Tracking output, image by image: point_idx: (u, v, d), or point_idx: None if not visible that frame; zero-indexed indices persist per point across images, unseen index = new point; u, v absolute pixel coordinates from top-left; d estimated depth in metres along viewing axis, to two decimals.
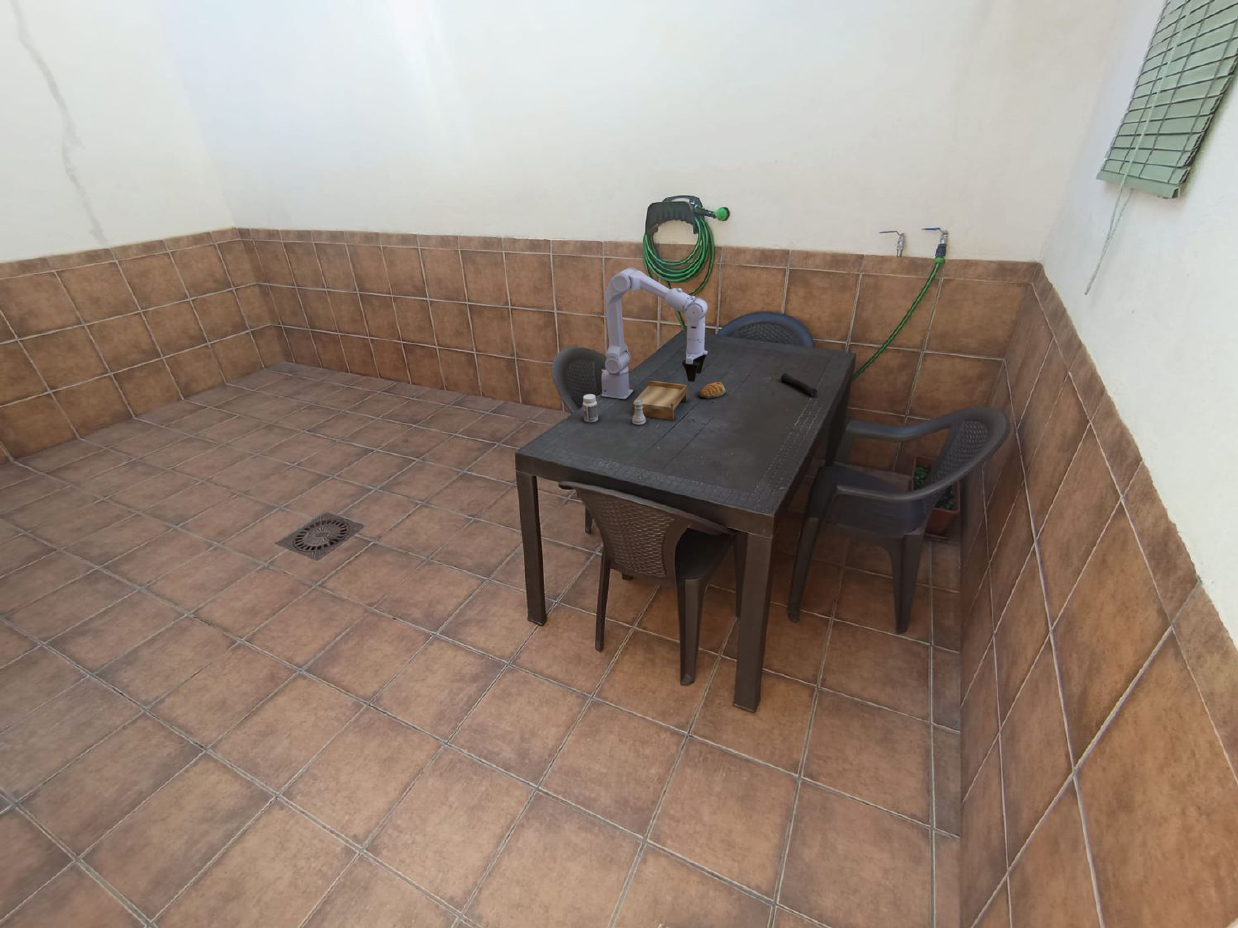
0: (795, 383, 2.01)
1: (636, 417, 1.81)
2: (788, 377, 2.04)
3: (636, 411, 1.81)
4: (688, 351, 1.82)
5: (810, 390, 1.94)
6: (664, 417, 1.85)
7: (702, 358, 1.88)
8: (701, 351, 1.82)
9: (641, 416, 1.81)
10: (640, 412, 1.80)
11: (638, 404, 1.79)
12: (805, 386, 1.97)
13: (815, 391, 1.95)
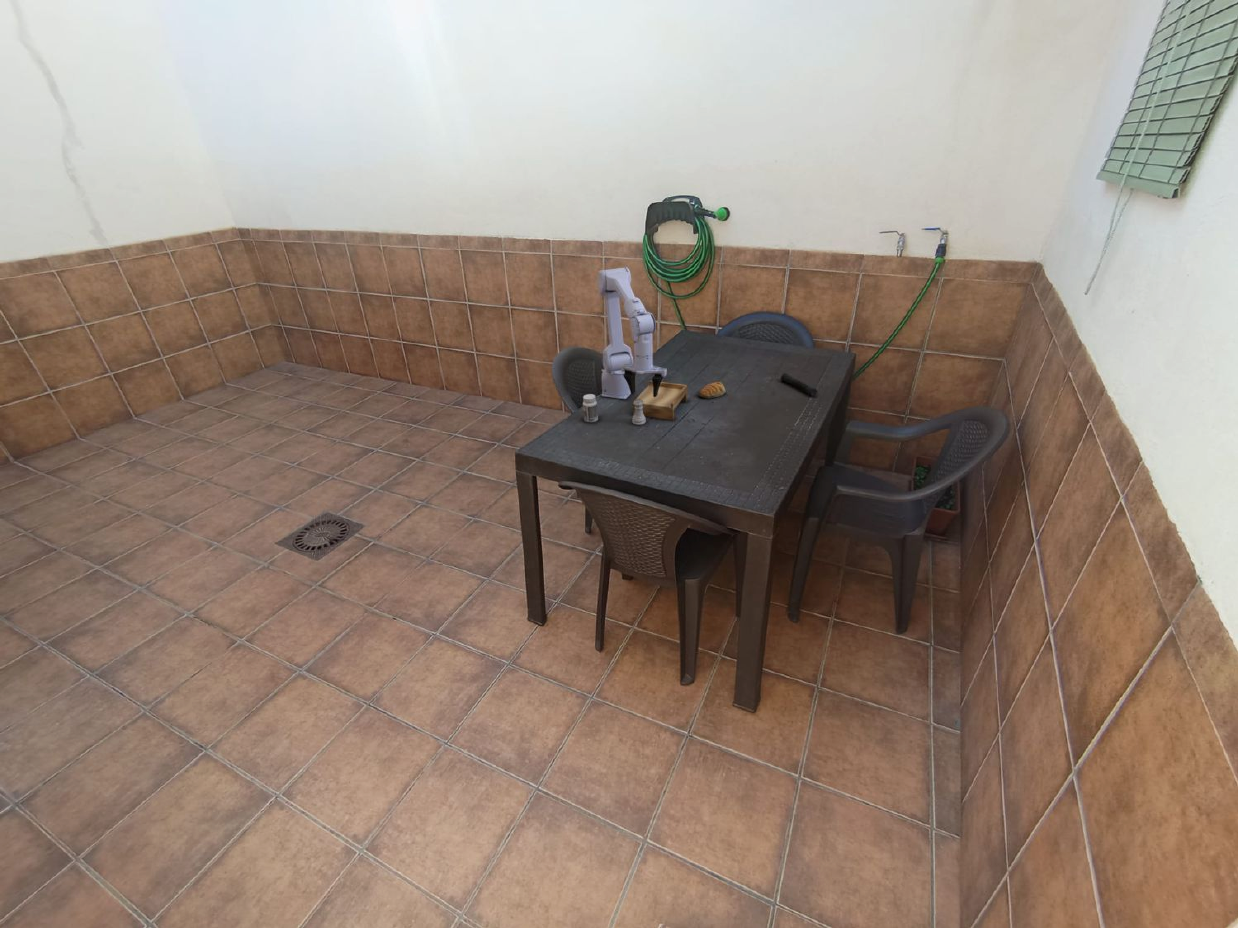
0: (795, 383, 2.01)
1: (636, 417, 1.81)
2: (788, 377, 2.04)
3: (636, 411, 1.81)
4: None
5: (810, 390, 1.94)
6: (664, 417, 1.85)
7: None
8: (636, 368, 1.73)
9: (641, 416, 1.81)
10: (640, 412, 1.80)
11: (638, 404, 1.79)
12: (805, 386, 1.97)
13: (815, 391, 1.95)
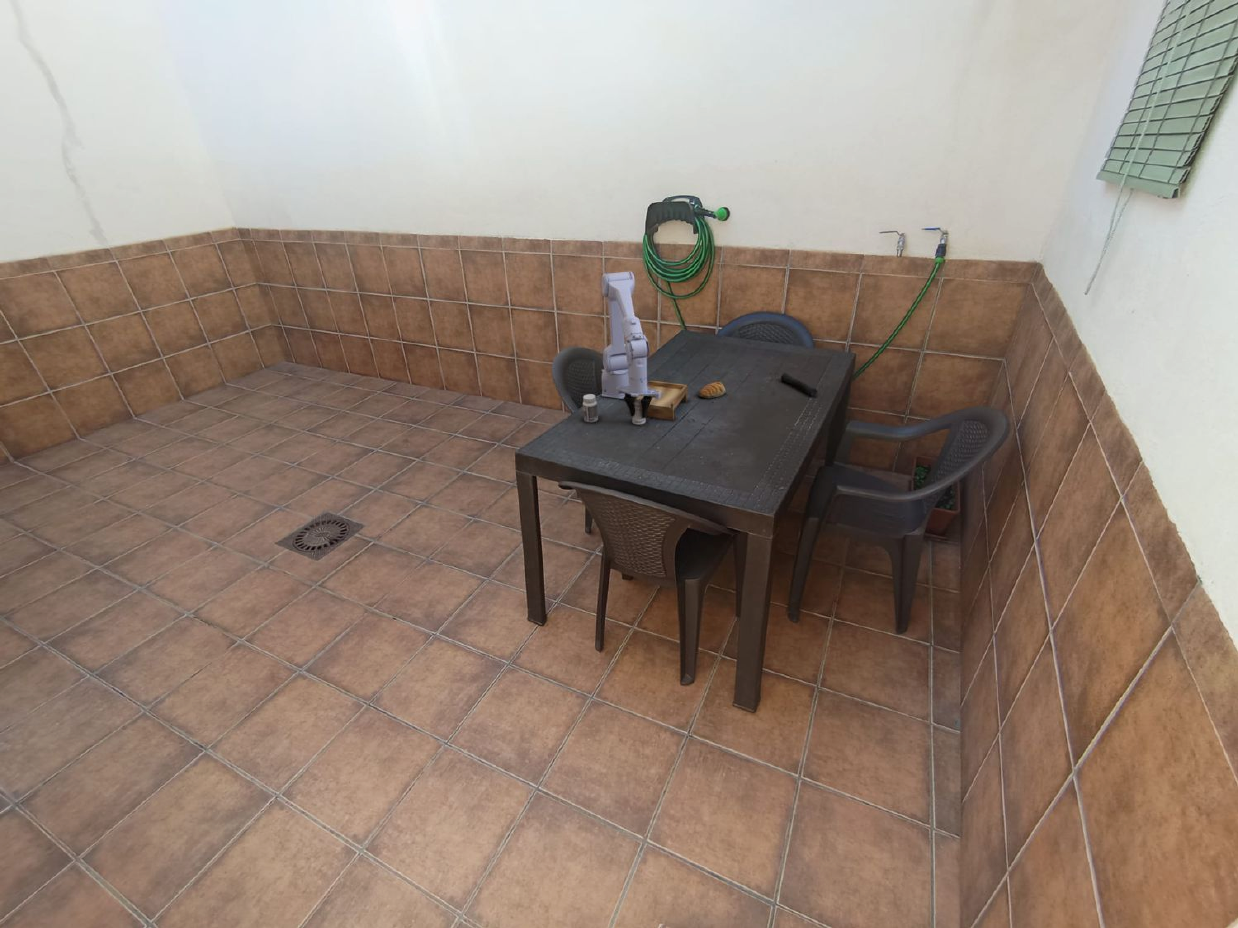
0: (795, 383, 2.01)
1: (636, 417, 1.81)
2: (788, 377, 2.04)
3: (636, 411, 1.81)
4: None
5: (810, 390, 1.94)
6: (664, 417, 1.85)
7: None
8: (631, 390, 1.76)
9: (641, 416, 1.81)
10: (640, 412, 1.80)
11: (638, 404, 1.79)
12: (805, 386, 1.97)
13: (815, 391, 1.95)
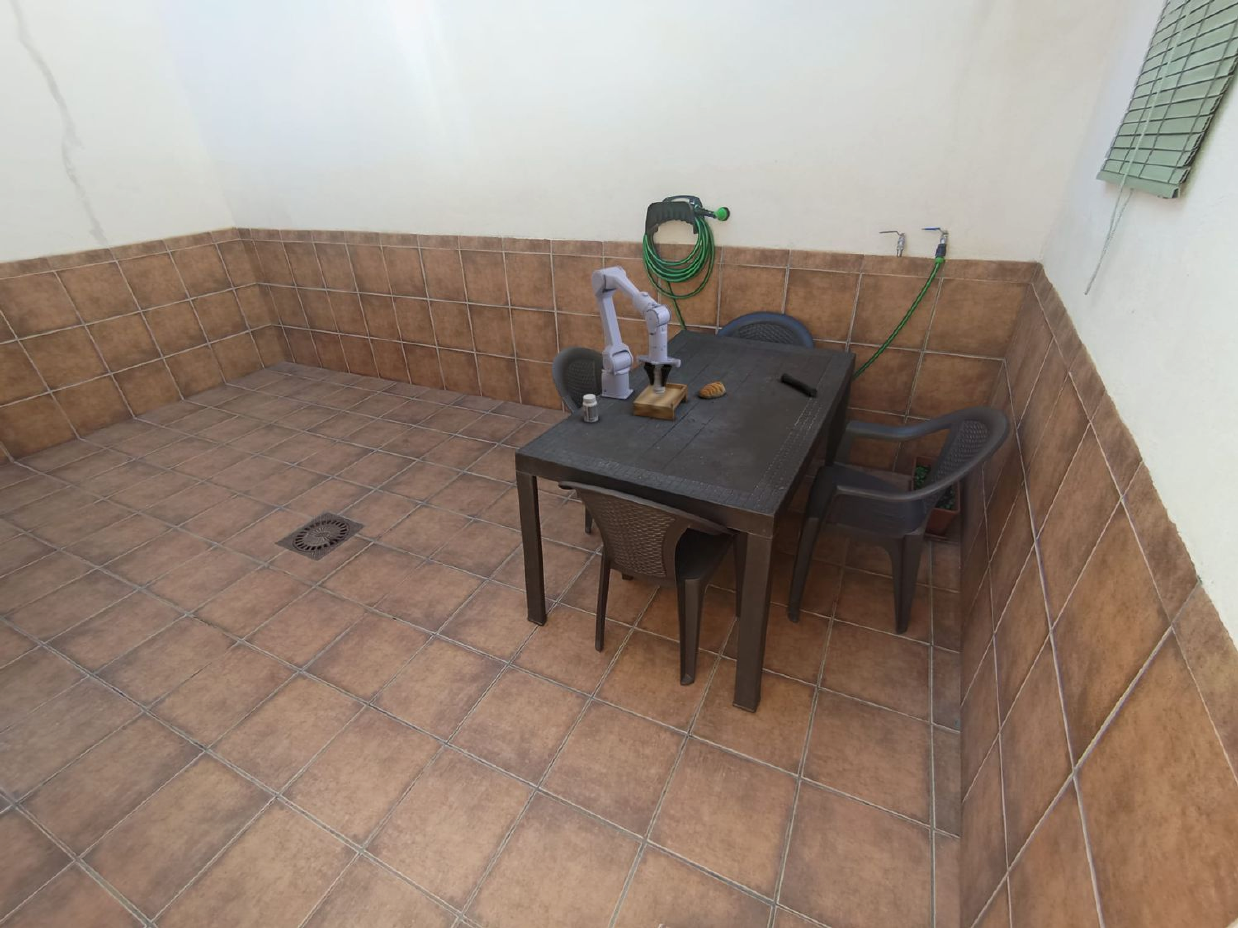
0: (795, 383, 2.01)
1: (656, 386, 1.83)
2: (788, 377, 2.04)
3: (656, 380, 1.83)
4: None
5: (810, 390, 1.94)
6: (664, 417, 1.85)
7: None
8: (651, 359, 1.78)
9: (660, 385, 1.83)
10: (660, 381, 1.83)
11: (658, 373, 1.81)
12: (805, 386, 1.97)
13: (815, 391, 1.95)
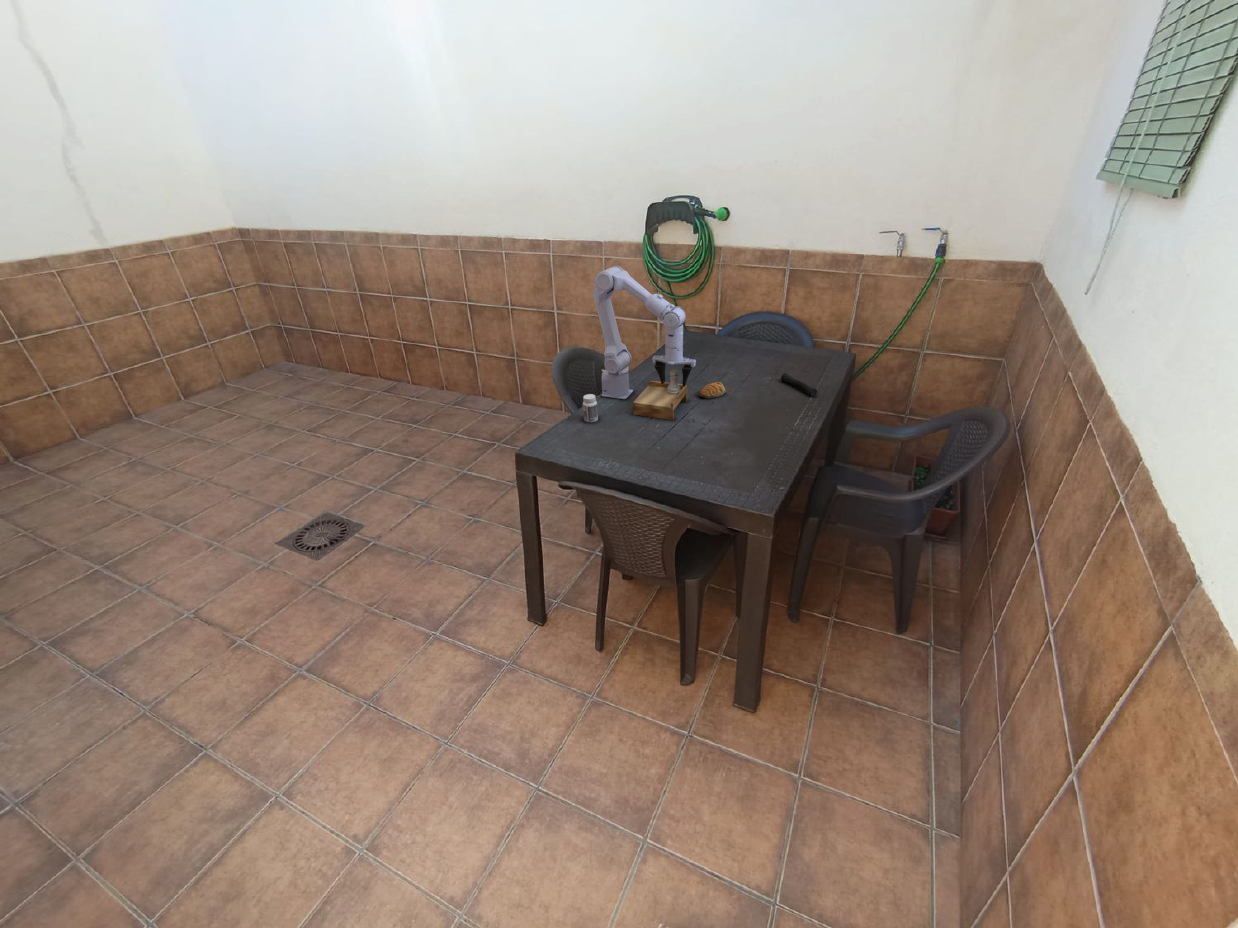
0: (795, 383, 2.01)
1: (671, 386, 1.90)
2: (788, 377, 2.04)
3: (671, 380, 1.89)
4: None
5: (810, 390, 1.94)
6: (664, 417, 1.85)
7: None
8: (667, 359, 1.85)
9: (676, 385, 1.90)
10: (675, 381, 1.89)
11: (674, 373, 1.88)
12: (805, 386, 1.97)
13: (815, 391, 1.95)
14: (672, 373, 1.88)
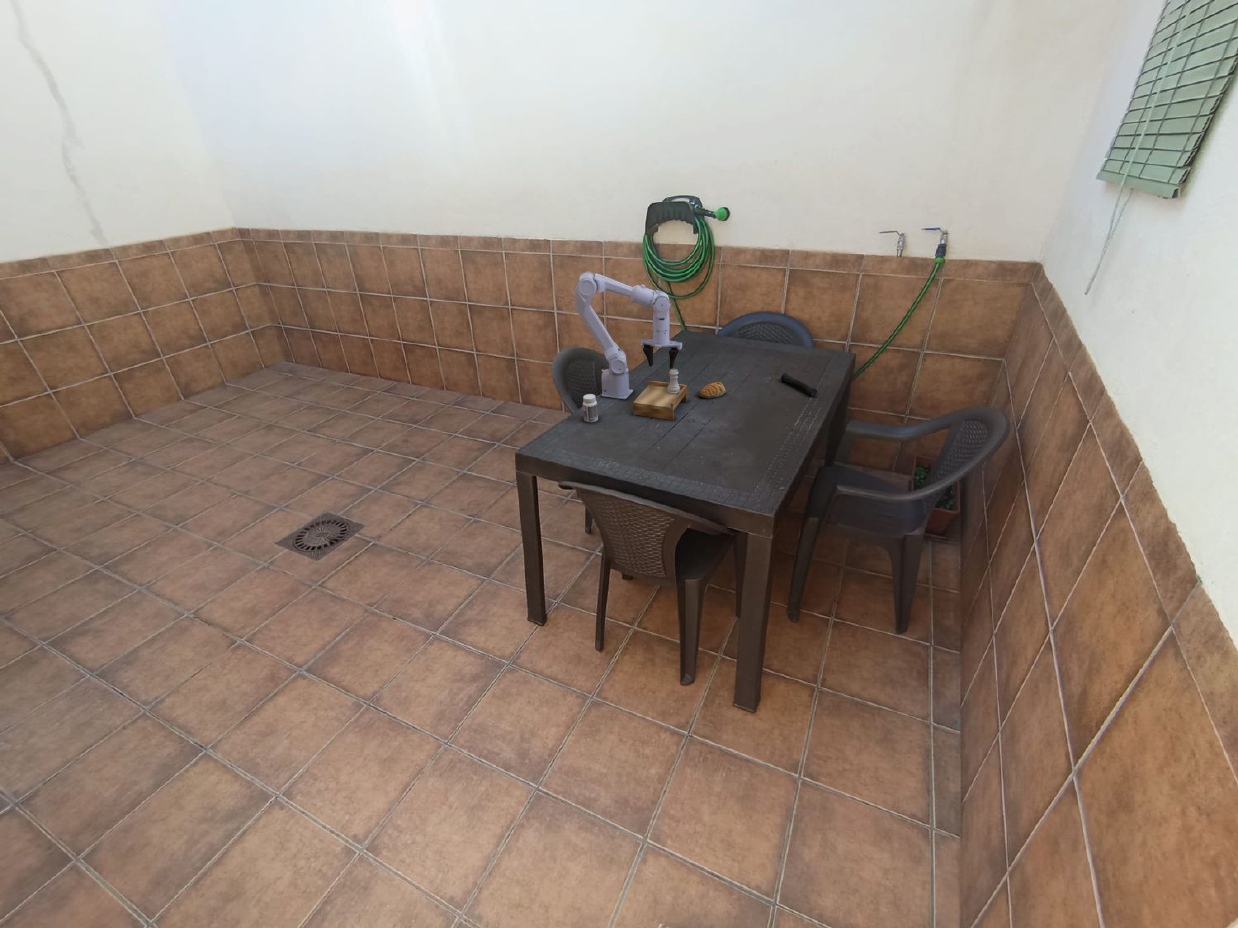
0: (795, 383, 2.01)
1: (671, 386, 1.90)
2: (788, 377, 2.04)
3: (671, 380, 1.89)
4: None
5: (810, 390, 1.94)
6: (664, 417, 1.85)
7: None
8: (655, 342, 1.92)
9: (676, 385, 1.90)
10: (675, 381, 1.89)
11: (674, 373, 1.88)
12: (805, 386, 1.97)
13: (815, 391, 1.95)
14: (672, 373, 1.88)
